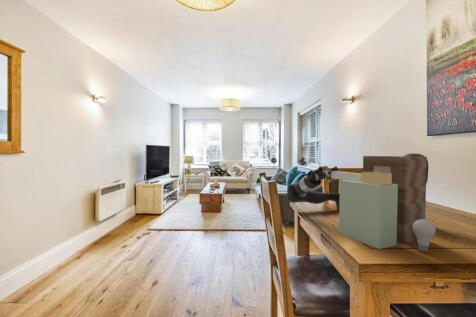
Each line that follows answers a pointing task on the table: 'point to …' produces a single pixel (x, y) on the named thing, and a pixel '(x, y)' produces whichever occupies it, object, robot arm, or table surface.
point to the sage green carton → (369, 213)
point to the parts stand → (404, 189)
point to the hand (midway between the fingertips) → (329, 168)
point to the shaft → (364, 177)
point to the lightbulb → (423, 233)
